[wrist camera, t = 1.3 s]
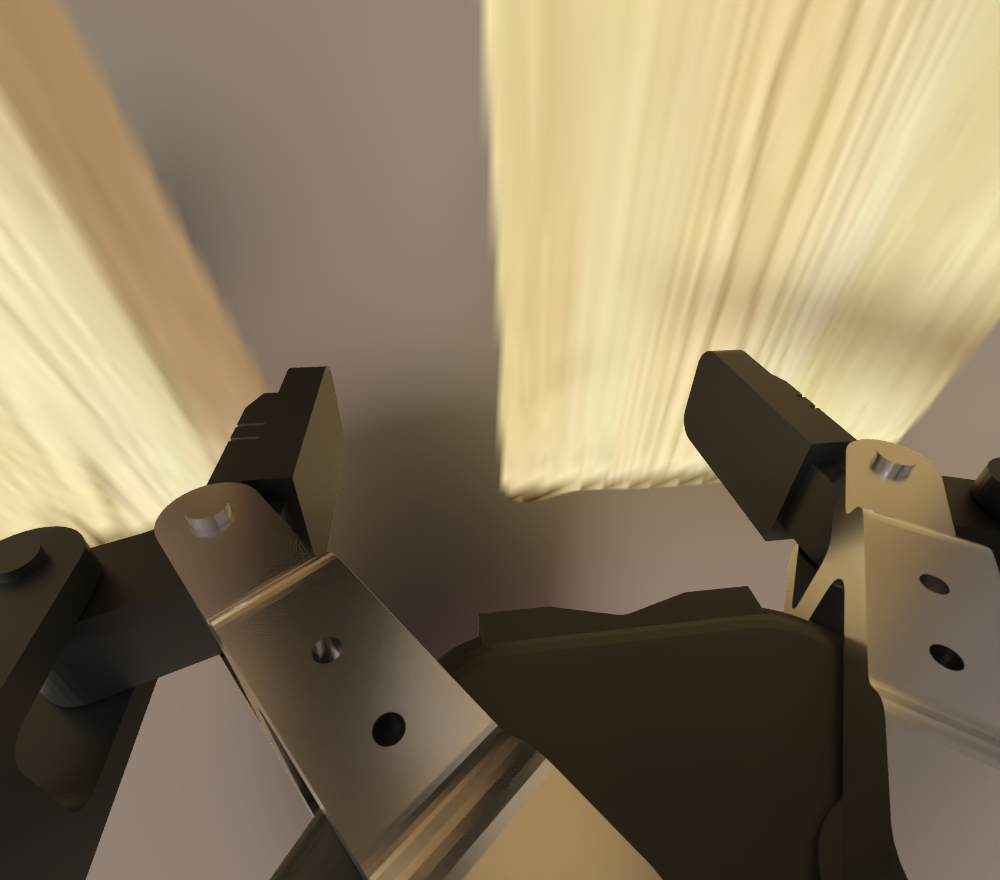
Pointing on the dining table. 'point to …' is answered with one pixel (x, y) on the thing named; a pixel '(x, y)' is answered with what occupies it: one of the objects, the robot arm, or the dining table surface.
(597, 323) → the dining table surface
